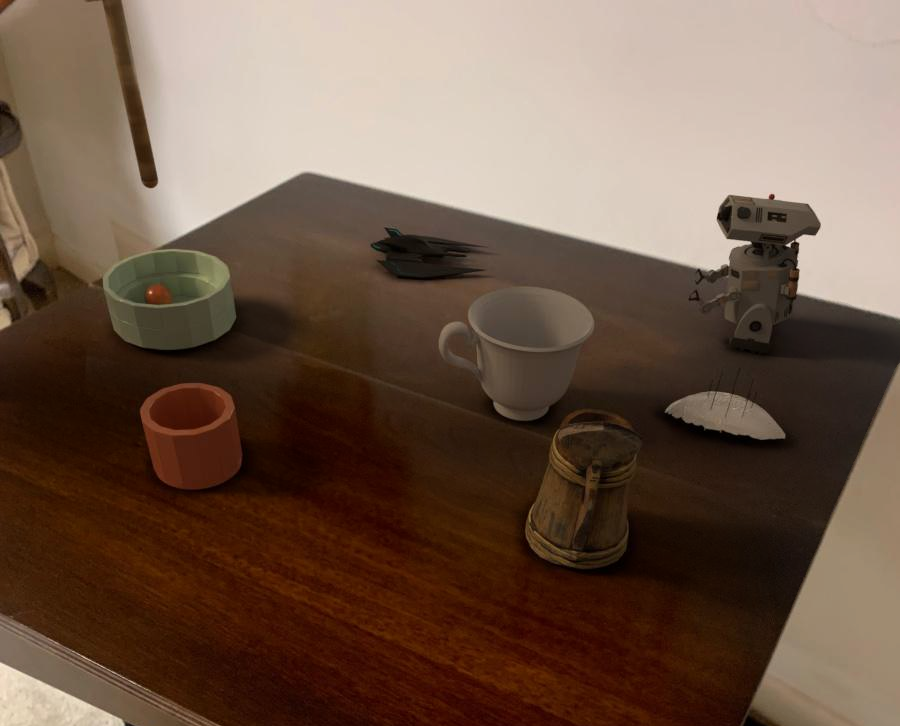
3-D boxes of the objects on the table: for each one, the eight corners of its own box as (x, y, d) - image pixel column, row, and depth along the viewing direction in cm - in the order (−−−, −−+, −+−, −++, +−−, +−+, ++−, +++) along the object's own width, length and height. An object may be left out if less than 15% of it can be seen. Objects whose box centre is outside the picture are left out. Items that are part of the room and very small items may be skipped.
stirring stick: (141, 190, 81) (81, -85, 68) (145, 185, 82) (87, -86, 69) (157, 190, 81) (100, -85, 68) (161, 185, 82) (106, -86, 69)
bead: (176, 314, 101) (149, 314, 100) (175, 287, 100) (148, 286, 100) (169, 311, 98) (142, 310, 97) (168, 282, 97) (140, 282, 97)
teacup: (424, 381, 93) (425, 292, 86) (557, 368, 96) (570, 281, 89) (450, 449, 85) (455, 357, 78) (595, 433, 88) (613, 343, 81)
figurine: (685, 304, 107) (717, 176, 97) (781, 320, 106) (825, 192, 95) (677, 341, 101) (711, 209, 90) (780, 359, 99) (826, 226, 89)
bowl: (96, 348, 95) (83, 300, 91) (139, 290, 104) (129, 244, 100) (216, 360, 94) (208, 312, 90) (249, 300, 104) (243, 254, 100)
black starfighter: (377, 235, 117) (377, 213, 115) (490, 245, 116) (492, 223, 114) (363, 274, 109) (362, 251, 107) (484, 285, 108) (485, 262, 106)
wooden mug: (511, 600, 72) (536, 414, 59) (531, 495, 81) (556, 314, 68) (620, 618, 71) (671, 433, 58) (628, 510, 80) (673, 330, 67)
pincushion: (786, 425, 90) (804, 377, 86) (779, 459, 86) (798, 410, 82) (670, 398, 93) (682, 350, 89) (659, 429, 89) (671, 381, 85)
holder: (141, 485, 80) (126, 430, 75) (170, 432, 85) (158, 378, 81) (228, 494, 79) (218, 440, 75) (252, 440, 85) (244, 386, 81)
